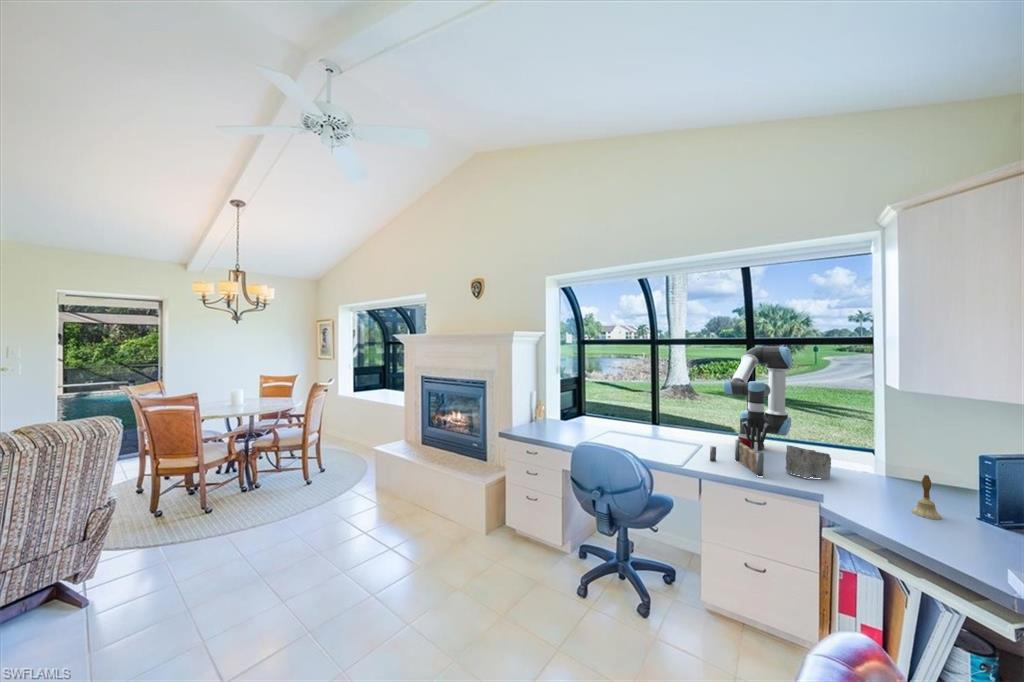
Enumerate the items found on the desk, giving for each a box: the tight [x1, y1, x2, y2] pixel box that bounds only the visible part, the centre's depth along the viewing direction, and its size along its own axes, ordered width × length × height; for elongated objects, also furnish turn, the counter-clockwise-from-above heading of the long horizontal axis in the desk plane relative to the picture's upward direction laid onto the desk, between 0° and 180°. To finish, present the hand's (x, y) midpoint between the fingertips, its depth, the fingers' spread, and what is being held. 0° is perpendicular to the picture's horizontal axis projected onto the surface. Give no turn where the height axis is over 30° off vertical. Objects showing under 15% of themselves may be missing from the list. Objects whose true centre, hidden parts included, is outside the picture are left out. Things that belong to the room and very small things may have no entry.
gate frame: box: [709, 438, 765, 477], centre depth 208 cm, size 27×17×12 cm, turn 172°
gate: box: [739, 443, 757, 474], centre depth 206 cm, size 20×1×10 cm, turn 172°
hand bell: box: [911, 474, 942, 521], centre depth 154 cm, size 8×8×16 cm
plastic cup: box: [738, 433, 756, 450], centre depth 228 cm, size 11×11×12 cm
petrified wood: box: [785, 444, 832, 480], centre depth 198 cm, size 19×17×15 cm
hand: (755, 454), depth 205 cm, fingers closed
